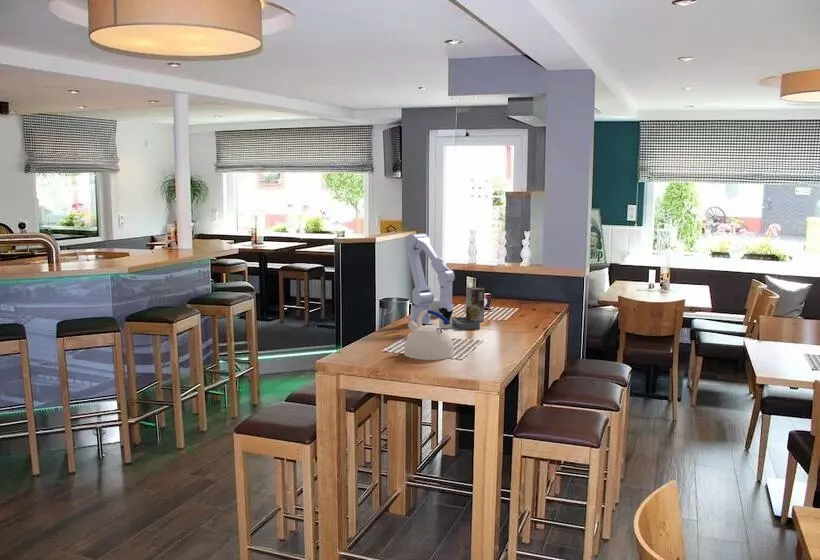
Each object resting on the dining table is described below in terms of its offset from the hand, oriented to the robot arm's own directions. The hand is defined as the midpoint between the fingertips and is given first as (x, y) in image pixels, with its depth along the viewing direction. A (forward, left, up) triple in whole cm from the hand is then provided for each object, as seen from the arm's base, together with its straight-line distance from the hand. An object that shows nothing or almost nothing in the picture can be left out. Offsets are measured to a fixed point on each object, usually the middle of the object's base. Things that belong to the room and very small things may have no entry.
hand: (445, 323), depth 339 cm
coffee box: (+20, +17, -2) cm, 26 cm away
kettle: (-21, -51, -2) cm, 55 cm away
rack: (+10, +2, -2) cm, 10 cm away
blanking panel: (0, 0, -2) cm, 2 cm away
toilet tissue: (+7, +32, -2) cm, 33 cm away
